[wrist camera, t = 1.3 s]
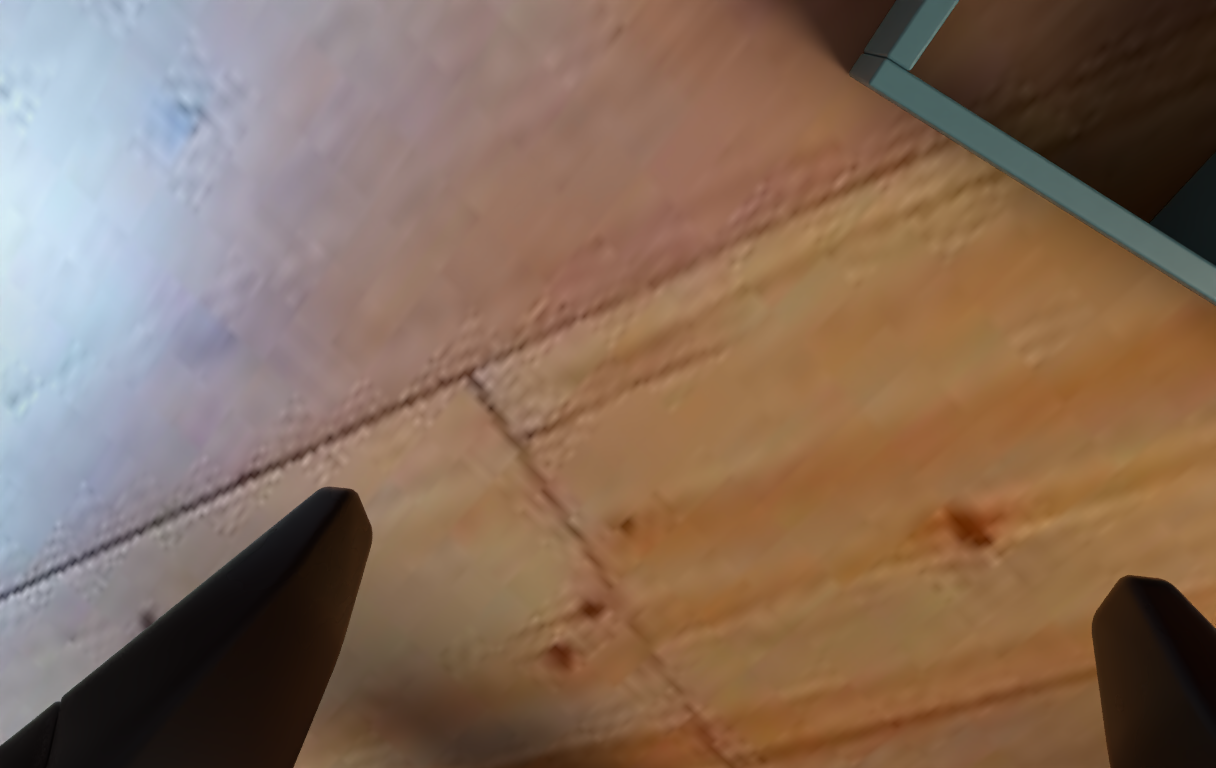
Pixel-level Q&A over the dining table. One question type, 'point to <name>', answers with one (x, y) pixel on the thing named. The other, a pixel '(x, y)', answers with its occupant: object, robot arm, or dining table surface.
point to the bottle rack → (1172, 242)
